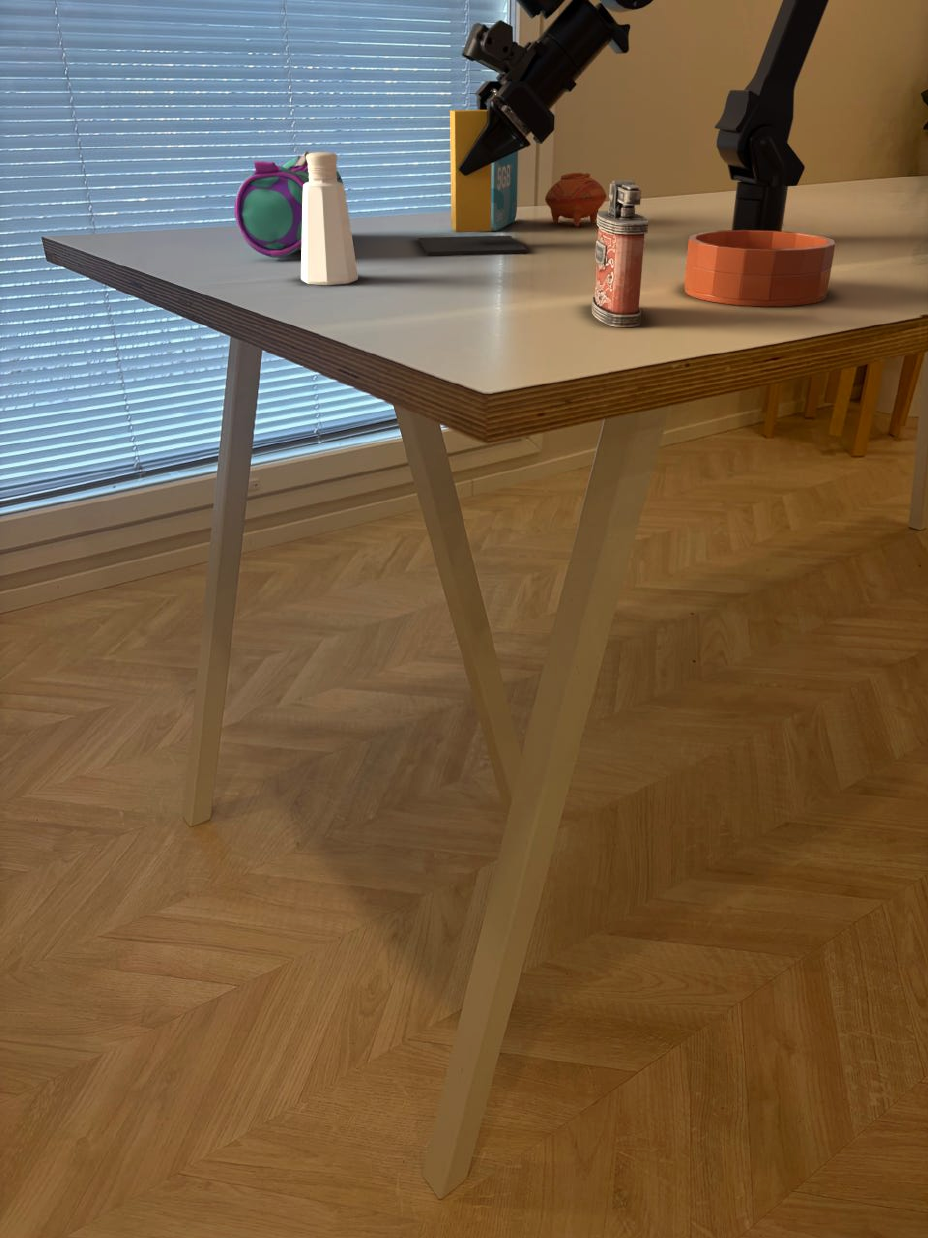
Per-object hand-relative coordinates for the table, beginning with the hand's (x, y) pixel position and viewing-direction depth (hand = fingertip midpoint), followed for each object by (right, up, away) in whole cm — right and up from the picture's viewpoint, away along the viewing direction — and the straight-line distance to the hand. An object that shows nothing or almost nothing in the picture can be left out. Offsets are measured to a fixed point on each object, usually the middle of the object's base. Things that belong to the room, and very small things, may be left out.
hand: (458, 170), depth 109 cm
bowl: (+26, -20, -21) cm, 39 cm away
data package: (+4, +2, +20) cm, 20 cm away
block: (+1, -5, +3) cm, 6 cm away
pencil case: (-19, -7, +4) cm, 20 cm away
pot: (+15, +2, +21) cm, 26 cm away
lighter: (+13, -25, -29) cm, 40 cm away
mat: (+1, -7, +4) cm, 8 cm away
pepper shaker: (-12, -17, -14) cm, 26 cm away
